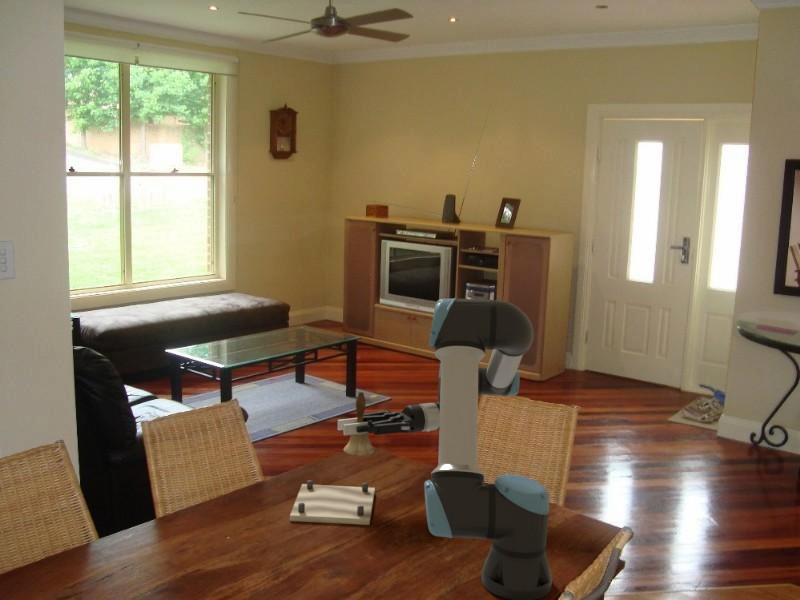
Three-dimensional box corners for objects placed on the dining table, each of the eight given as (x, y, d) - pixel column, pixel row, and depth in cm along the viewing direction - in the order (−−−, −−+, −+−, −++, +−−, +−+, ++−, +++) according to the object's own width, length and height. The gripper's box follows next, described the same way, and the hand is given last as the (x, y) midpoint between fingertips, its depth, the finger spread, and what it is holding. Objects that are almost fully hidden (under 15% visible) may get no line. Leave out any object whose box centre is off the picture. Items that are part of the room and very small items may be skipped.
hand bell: (340, 446, 219) (342, 388, 216) (370, 444, 221) (372, 387, 218) (347, 456, 211) (348, 397, 208) (378, 454, 213) (380, 396, 211)
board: (369, 524, 203) (369, 511, 202) (289, 520, 204) (290, 507, 203) (374, 492, 223) (374, 480, 222) (302, 489, 223) (302, 477, 223)
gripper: (433, 440, 216) (353, 451, 206) (405, 422, 231) (329, 431, 220) (435, 413, 215) (354, 423, 204) (406, 396, 229) (329, 405, 219)
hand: (341, 427), depth 212 cm, fingers closed on hand bell, 3 cm apart
